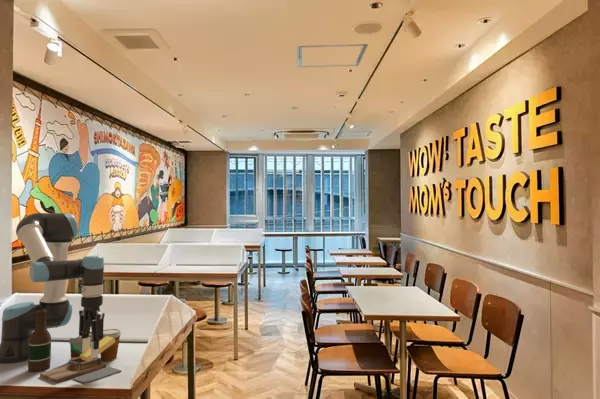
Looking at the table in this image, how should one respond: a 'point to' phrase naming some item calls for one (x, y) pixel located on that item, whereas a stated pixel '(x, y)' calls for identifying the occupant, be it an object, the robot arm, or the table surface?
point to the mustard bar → (102, 346)
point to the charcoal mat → (96, 375)
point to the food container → (77, 346)
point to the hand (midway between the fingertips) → (90, 356)
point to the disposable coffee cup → (111, 350)
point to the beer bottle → (39, 345)
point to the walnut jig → (73, 369)
